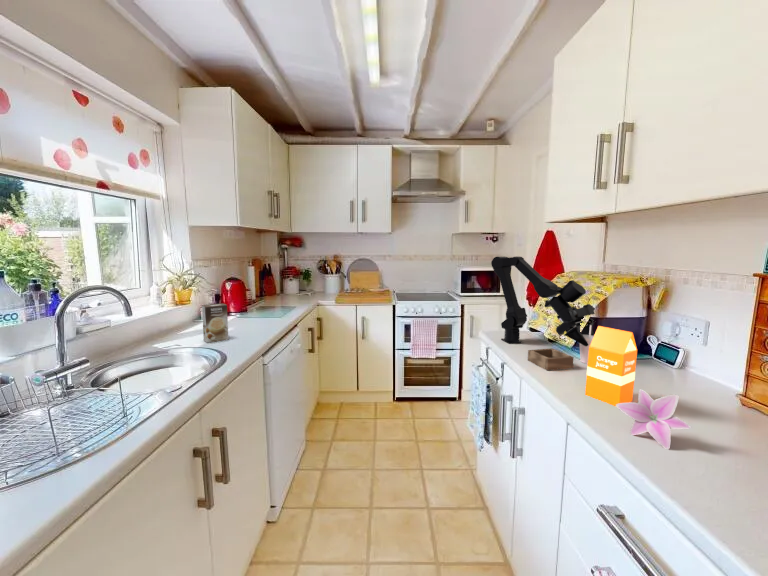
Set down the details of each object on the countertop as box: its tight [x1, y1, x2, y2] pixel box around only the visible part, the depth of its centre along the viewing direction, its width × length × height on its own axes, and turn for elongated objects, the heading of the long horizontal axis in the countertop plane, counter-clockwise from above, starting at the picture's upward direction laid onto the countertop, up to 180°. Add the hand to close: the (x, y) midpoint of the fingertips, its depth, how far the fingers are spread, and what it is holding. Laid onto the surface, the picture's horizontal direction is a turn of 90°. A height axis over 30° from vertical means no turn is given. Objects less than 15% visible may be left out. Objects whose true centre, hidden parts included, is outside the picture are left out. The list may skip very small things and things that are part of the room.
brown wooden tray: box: [527, 347, 574, 371], centre depth 120 cm, size 10×10×4 cm
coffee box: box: [201, 303, 229, 344], centre depth 149 cm, size 9×6×16 cm
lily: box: [615, 388, 692, 450], centre depth 75 cm, size 12×12×10 cm
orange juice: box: [584, 325, 638, 407], centre depth 92 cm, size 8×9×20 cm
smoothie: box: [578, 325, 594, 365], centre depth 122 cm, size 6×6×14 cm
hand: (591, 344), depth 121 cm, fingers closed on smoothie, 6 cm apart
